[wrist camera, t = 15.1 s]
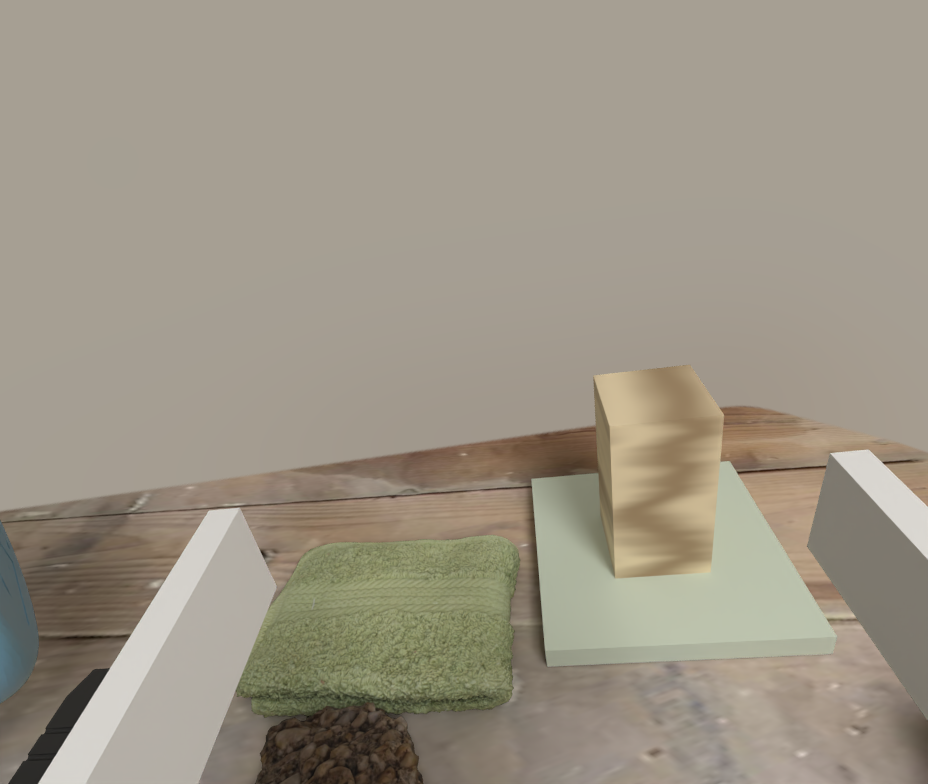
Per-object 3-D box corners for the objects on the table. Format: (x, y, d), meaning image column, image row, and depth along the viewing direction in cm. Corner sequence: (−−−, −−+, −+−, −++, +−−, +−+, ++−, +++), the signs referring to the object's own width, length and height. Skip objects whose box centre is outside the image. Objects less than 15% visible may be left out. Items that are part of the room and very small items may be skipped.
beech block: (615, 578, 35) (609, 426, 30) (600, 515, 41) (593, 375, 35) (710, 572, 35) (724, 415, 29) (683, 508, 40) (689, 364, 34)
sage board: (547, 666, 32) (545, 650, 32) (533, 492, 46) (531, 479, 46) (832, 654, 30) (837, 636, 30) (728, 475, 44) (729, 461, 44)
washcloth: (307, 559, 44) (295, 530, 43) (522, 554, 41) (517, 522, 40) (229, 723, 33) (209, 692, 31) (516, 733, 30) (509, 699, 28)
